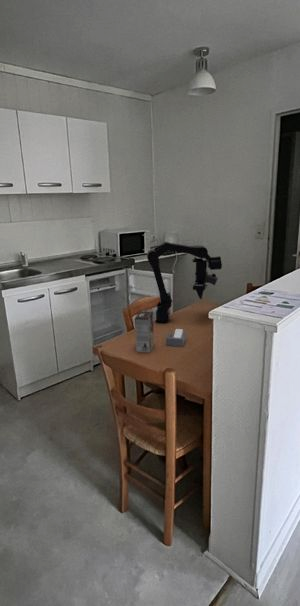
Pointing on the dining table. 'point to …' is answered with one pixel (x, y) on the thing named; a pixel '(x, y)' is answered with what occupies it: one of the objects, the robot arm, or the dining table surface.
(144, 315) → the coffee box
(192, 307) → the dining table surface
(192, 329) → the dining table surface
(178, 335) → the slat
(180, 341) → the end cap
